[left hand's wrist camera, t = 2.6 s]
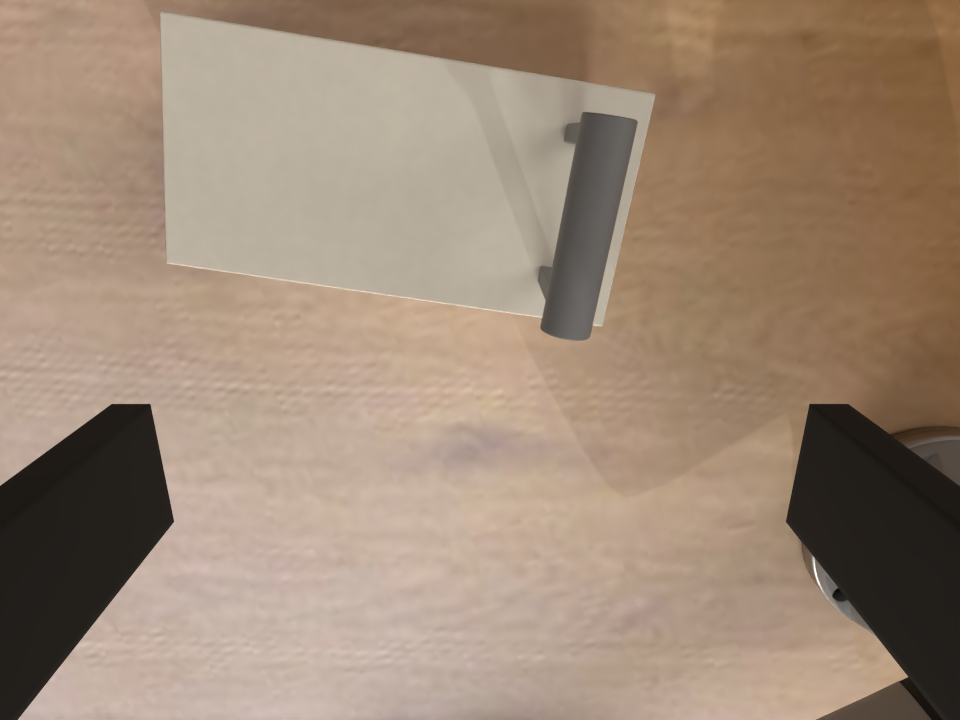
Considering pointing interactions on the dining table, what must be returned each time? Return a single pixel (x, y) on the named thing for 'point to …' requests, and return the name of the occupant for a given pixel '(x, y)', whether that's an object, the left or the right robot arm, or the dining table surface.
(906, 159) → the dining table surface
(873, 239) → the dining table surface
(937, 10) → the dining table surface
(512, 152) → the lid
